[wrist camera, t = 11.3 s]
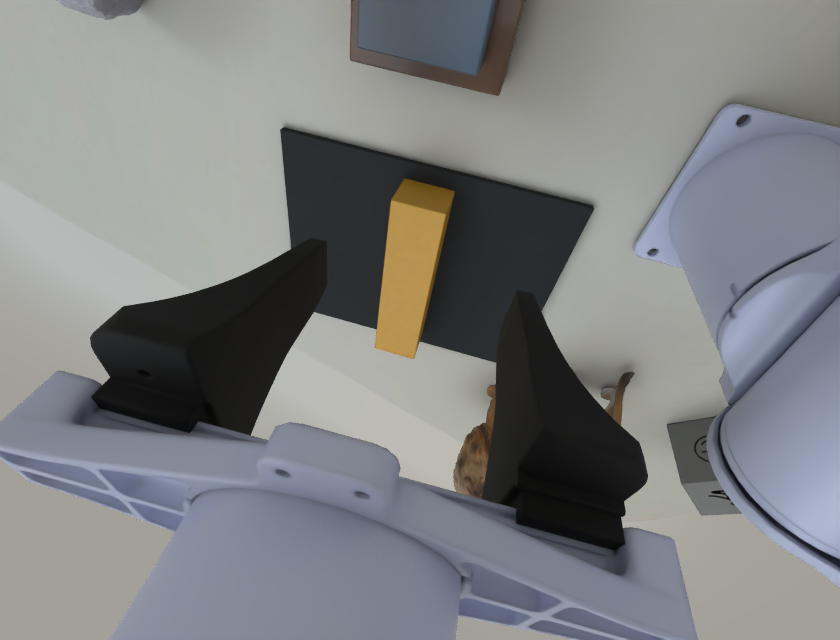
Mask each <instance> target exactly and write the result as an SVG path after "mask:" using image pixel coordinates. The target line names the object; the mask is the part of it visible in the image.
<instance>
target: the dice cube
mask: <svg viewBox="0 0 840 640" xmlns="http://www.w3.org/2000/svg"><path fill="white" fill-rule="evenodd" d="M715 418H716V417H712V418H706V419H700V420H694V421H688V422H682V423H676V424H669V425H667V429H668V433H669V437H670V441H671V445H672V449H673V453H674V457H675V460H676V464H677V468H678V472H679V476H680V480H681V484H682V486H683V487H684V489H685V490H686V492H687V494H688V495H689V497H690V498H691V500H692V502H693V503H694V505H695V506H696V508H697V509H698V511H699V513H700V514H701V515H722V514H742V512H741V511H740V510H739V509H738V508H737V507H736V506H735V505H734V503H733V502H732V501H731V500H730V498H729V497H728V495H727V494H726V493H725V491H724V490H723V488H722V487H721V485H720V483H719V481H718V480H717V478H716V476H715V474H714V472H713V469H712V467H711V464H710V461H709V458H708V452H707V435H708V431H709V428H710V425H711V424H712V422H713V420H714V419H715Z"/></svg>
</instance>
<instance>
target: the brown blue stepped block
mask: <svg viewBox="0 0 840 640" xmlns="http://www.w3.org/2000/svg"><path fill="white" fill-rule="evenodd" d="M524 3H525V0H351V35H350V60H351V61H354V62H358V63H363V64H367V65H371V66H375V67H379V68H383V69H388V70H392V71H396V72H400V73H404V74H408V75H412V76H417V77H421V78H425V79H429V80H433V81H437V82H442V83H446V84H450V85H454V86H458V87H462V88H467V89H471V90H475V91H479V92H483V93H487V94H492V95H496V96H499V94H500V92H501V89H502V86H503V82H504V78H505V74H506V71H507V67H508V63H509V59H510V56H511V52H512V48H513V44H514V41H515V37H516V33H517V30H518V26H519V22H520V18H521V15H522V11H523V7H524Z"/></svg>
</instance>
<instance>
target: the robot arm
mask: <svg viewBox="0 0 840 640" xmlns="http://www.w3.org/2000/svg"><path fill="white" fill-rule="evenodd" d="M746 114H748V118H747V120H746V121H745V122H744V123H742V124H737V125H736V122H737V120H738V118H739V117H740V116H743V115H746ZM653 248H656V249H657V250H656V251H655V252H652V253H649V252H648V251H649V250H650V249H653ZM633 250H634V253H635V255H636V256H638V257H641V258H645V259H649V260H653V261H657V262H661V263H665V264H669V265H672V266H676V267H680V268H683V269H684V271H685V273H686V276H687V278H688V281H689V283H690V285H691V288H692V290H693V292H694V295H695V297H696V299H697V302H698V304H699V306H700V309H701V311H702V314H703V316H704V318H705V321H706V323H707V325H708V328H709V330H710V332H711V335H712V337H713V340H714V342H715V344H716V347H717V349H718V351H719V353H720V356H721V358H722V361H723V363H724V372H723V375H722V376H721V378H720V379H719V382H720V384H721V387H722V389H723V392H724V394H725V397H726V399H727V402H728V404H729V405H730V406H727V407H726V408H725V409H724V410H723V411H722V412H721V413H720V414H719V415H718V416H717V417H716V418H715V419H714V420H713V422H712V424H711V425H710V428H709V431H708V435H707V452H708V458H709V461H710V464H711V467H712V469H713V472H714V474H715V476H716V478H717V480H718V481H719V483H720V485H721V487H722V488H723V490H724V491H725V493H726V494H727V495H728V497H729V498H730V500H731V501H732V502H733V503H734V505H735V506H736V507H737V508H738V509H739V510H740V511H741V512H742V514H743V515H744V516H745V517H746V518H747V519H748V520H749V521H750V522H752V524H754V525H755V526H756V527H757V528H758V529H759V530H760V531H761V532H762V533H763V534H765V535H766V536H767V537H769V538H770V539H771V540H773V541H774V542H775V543H776V544H778V545H779V546H780V547H782V548H784V549H785V550H787V551H788V552H790V553H791V554H793V555H795V556H796V557H797V558H799V559H801V560H802V561H804V562H805V563H807V564H808V565H810V566H812V567H813V568H815V569H816V570H818V571H819V572H820V573H822V574H823V575H824V576H826V577H827V578H828V579H830V580H831V581H832V582H834V583H835V584H836V585H837V586H838V587H839V588H840V127H836V126H832V125H827V124H823V123H819V122H814V121H810V120H806V119H802V118H797V117H793V116H789V115H784V114H780V113H776V112H772V111H767V110H763V109H759V108H754V107H750V106H746V105H742V104H733V103H732V104H729V105H727V106H725V107H724V108H722V109H721V110H720V112H719V113H718V114H717V116H716V117H715V119H714V120H713V122H712V124H711V125H710V127H709V128H708V130H707V131H706V133H705V134H704V136H703V138H702V139H701V141H700V142H699V144H698V145H697V147H696V149H695V150H694V152H693V153H692V155H691V156H690V158H689V160H688V161H687V163H686V164H685V166H684V167H683V169H682V171H681V172H680V174H679V175H678V177H677V178H676V180H675V182H674V183H673V185H672V186H671V188H670V189H669V191H668V192H667V194H666V196H665V197H664V199H663V200H662V202H661V203H660V205H659V207H658V208H657V210H656V211H655V213H654V214H653V216H652V218H651V219H650V221H649V222H648V224H647V225H646V227H645V229H644V230H643V232H642V233H641V235H640V236H639V238H638V239H637V241H636V243H635V244H634V247H633ZM326 286H327V241H323V240H319V239H315V238H309V239H307V240H306V241H304V242H302V243H301V244H299V245H297V246H295V247H294V248H292V249H290V250H289V251H287V252H285V253H284V254H282V255H280V256H278V257H277V258H275V259H273V260H271V261H270V262H268V263H266V264H264V265H262V266H260V267H258V268H256V269H254V270H252V271H250V272H248V273H246V274H243V275H241V276H239V277H236V278H234V279H231V280H229V281H226V282H224V283H221V284H218V285H215V286H212V287H209V288H206V289H203V290H200V291H196V292H193V293H189V294H186V295H182V296H178V297H173V298H169V299H164V300H159V301H154V302H148V303H141V304H135V305H129V306H123V307H122V308H121V309H120V310H118V311H117V312H116V313H115V314H114V315H113V316H112V317H111V318H109V319H108V320H107V321H106V322H105V323H104V324H103V325H101V326H100V327H99V328H98V329H97V330H96V331H95V332H93V334H92V335H91V337H90V340H91V347H92V349H93V351H94V353H95V355H96V356H97V358H98V359H99V361H100V362H101V363H102V365H103V367H104V368H105V370H106V371H107V372H108V374H109V376H110V378H109V379H108V380H107V382H105V383H104V384H103V385H101V384H100V383H98V382H97V381H95V380H93V379H90V378H86V377H83V376H79V375H75V374H72V373H68V372H65V371H57V372H55V373H54V374H53V375H52V376H51V377H50V378H49V379H48V380H46V381H45V382H44V383H43V384H42V385H41V386H40V387H39V388H38V389H36V390H35V391H34V392H33V393H32V394H31V395H30V396H28V397H27V398H26V399H25V400H24V401H23V402H22V403H21V404H20V405H18V406H17V407H16V408H15V409H14V410H13V411H12V412H11V413H10V414H8V415H7V416H6V417H5V418H4V419H3V420H2V421H1V422H0V459H1V460H2V461H3V462H5V463H6V464H7V465H9V466H10V467H11V468H13V469H14V470H15V471H16V472H18V473H19V474H20V475H21V476H23V477H24V478H25V479H27V480H28V481H29V482H32V483H35V484H39V485H42V486H45V487H48V488H52V489H55V490H58V491H62V492H64V493H68V494H71V495H74V496H77V497H80V498H83V499H86V500H88V501H91V502H94V503H97V504H100V505H102V506H105V507H108V508H111V509H114V510H116V511H119V512H122V513H124V514H127V515H130V516H133V517H135V518H138V519H140V520H143V521H146V522H148V523H151V524H154V525H156V526H159V527H162V528H165V529H167V530H170V531H172V532H175V533H174V535H173V536H172V538H171V540H170V541H169V543H168V545H167V546H166V548H165V549H164V551H163V553H162V554H161V556H160V558H159V559H158V561H157V563H156V564H155V566H154V567H153V569H152V571H151V572H150V574H149V576H148V578H147V579H146V580H145V582H144V584H143V585H142V587H141V589H140V590H139V592H138V594H137V595H136V597H135V598H134V600H133V602H132V604H131V605H130V607H129V608H128V610H127V612H126V613H125V615H124V617H123V618H122V620H121V622H120V623H119V625H118V626H117V628H116V630H115V631H114V633H113V635H112V636H111V638H110V639H109V640H456V630H457V621H458V616H461V617H466V618H471V619H476V620H480V621H485V622H491V623H495V624H500V625H505V626H510V627H515V628H520V629H525V630H530V631H534V632H539V633H544V634H549V635H554V636H559V637H564V638H568V639H573V640H698V639H697V634H696V630H695V626H694V622H693V618H692V613H691V609H690V605H689V601H688V597H687V592H686V589H685V584H684V580H683V575H682V571H681V567H680V563H679V559H678V554H677V550H676V546H675V542H674V540H673V539H672V538H670V537H668V536H664V535H660V534H656V533H653V532H649V531H645V530H642V529H638V528H630V527H629V528H623V527H622V521H621V517H623V516H625V513H626V511H625V505H624V501H625V500H626V499H628V498H629V497H630V496H632V495H633V494H634V493H636V492H637V491H638V490H640V489H641V488H642V487H643V486H644V485H645V484H646V482H647V479H648V474H647V469H646V464H645V460H644V456H643V453H642V449H641V446H640V443H639V442H638V441H637V440H636V439H635V438H634V437H633V436H631V435H630V434H629V433H628V432H627V431H626V430H625V429H624V428H623V427H621V426H620V425H619V424H618V423H617V422H616V421H615V420H614V419H613V418H612V417H611V416H610V415H609V414H608V413H607V412H606V411H605V410H604V409H603V408H602V407H601V406H600V404H599V403H598V402H597V401H596V400H595V399H594V398H593V396H592V395H591V394H590V393H589V392H588V390H587V389H586V388H585V387H584V386H583V384H582V383H581V382H580V380H579V379H578V378H577V376H576V375H575V373H574V372H573V371H572V369H571V368H570V366H569V365H568V363H567V362H566V360H565V358H564V357H563V355H562V353H561V351H560V350H559V348H558V346H557V344H556V342H555V340H554V338H553V336H552V334H551V332H550V330H549V328H548V326H547V324H546V321H545V319H544V317H543V314H542V312H541V310H540V307H539V305H538V302H537V300H536V297H535V295H534V294H533V293H529V292H525V291H521V290H517V291H516V294H515V296H514V298H513V301H512V303H511V305H510V307H509V310H508V312H507V314H506V317H505V319H504V321H503V324H502V326H501V329H500V335H499V341H498V348H497V363H496V403H495V415H494V422H493V430H492V437H491V444H490V450H489V457H488V463H487V469H486V475H485V481H484V487H483V492H482V498H481V499H479V498H476V497H472V496H468V495H465V494H461V493H458V492H454V491H450V490H446V489H443V488H439V487H436V486H432V485H428V484H425V483H421V482H417V481H414V480H410V479H407V478H403V477H399V472H400V464H399V461H398V459H397V458H396V456H395V455H393V454H392V453H391V452H390V451H389V450H388V449H386V448H383V447H381V446H378V445H376V444H374V443H371V442H367V441H363V440H360V439H356V438H352V437H349V436H345V435H341V434H337V433H334V432H330V431H327V430H323V429H319V428H316V427H312V426H308V425H305V424H299V423H291V422H289V423H285V424H282V425H279V426H276V427H275V429H274V431H273V433H272V435H271V436H270V439H269V440H265V439H261V438H258V437H254V436H250V435H251V433H252V430H253V428H254V425H255V423H256V420H257V418H258V416H259V413H260V411H261V408H262V406H263V404H264V402H265V399H266V397H267V395H268V392H269V390H270V388H271V386H272V384H273V382H274V380H275V377H276V375H277V373H278V371H279V369H280V367H281V365H282V363H283V361H284V359H285V357H286V355H287V353H288V352H289V350H290V348H291V347H292V345H293V343H294V342H295V340H296V339H297V337H298V336H299V334H300V333H301V331H302V329H303V328H304V326H305V325H306V323H307V322H308V320H309V319H310V317H311V315H312V314H313V312H314V311H315V309H316V307H317V306H318V304H319V302H320V299H321V297H322V295H323V293H324V291H325V288H326ZM732 404H733V405H732Z"/></svg>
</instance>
